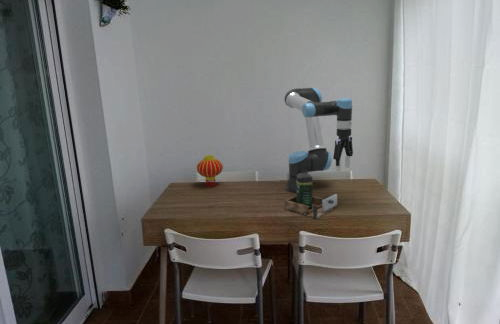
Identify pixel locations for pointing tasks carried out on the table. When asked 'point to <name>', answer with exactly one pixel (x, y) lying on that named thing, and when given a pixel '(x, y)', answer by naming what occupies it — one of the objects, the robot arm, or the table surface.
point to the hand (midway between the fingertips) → (343, 169)
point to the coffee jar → (304, 189)
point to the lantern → (209, 168)
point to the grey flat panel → (329, 202)
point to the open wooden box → (306, 207)
